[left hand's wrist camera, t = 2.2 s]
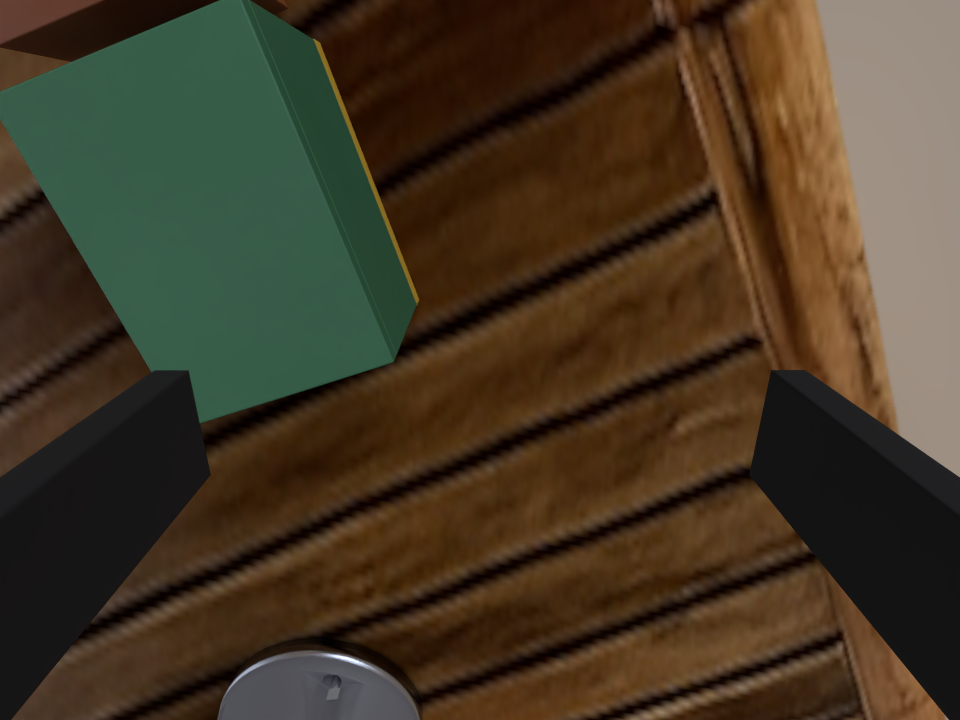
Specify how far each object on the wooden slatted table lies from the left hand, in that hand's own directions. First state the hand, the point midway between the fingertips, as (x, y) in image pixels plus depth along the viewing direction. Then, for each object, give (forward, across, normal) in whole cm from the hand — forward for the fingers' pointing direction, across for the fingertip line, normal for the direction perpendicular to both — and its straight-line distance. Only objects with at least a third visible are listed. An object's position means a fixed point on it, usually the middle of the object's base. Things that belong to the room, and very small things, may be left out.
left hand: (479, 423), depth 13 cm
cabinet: (+19, +10, -3) cm, 22 cm away
